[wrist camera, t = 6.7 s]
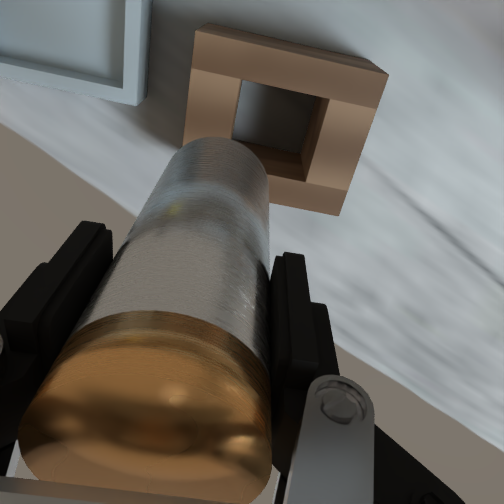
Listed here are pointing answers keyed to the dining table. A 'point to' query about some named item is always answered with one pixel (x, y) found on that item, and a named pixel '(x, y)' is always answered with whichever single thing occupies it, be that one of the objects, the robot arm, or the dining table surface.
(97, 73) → the tray
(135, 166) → the dining table surface
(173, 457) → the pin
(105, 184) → the dining table surface
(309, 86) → the block
